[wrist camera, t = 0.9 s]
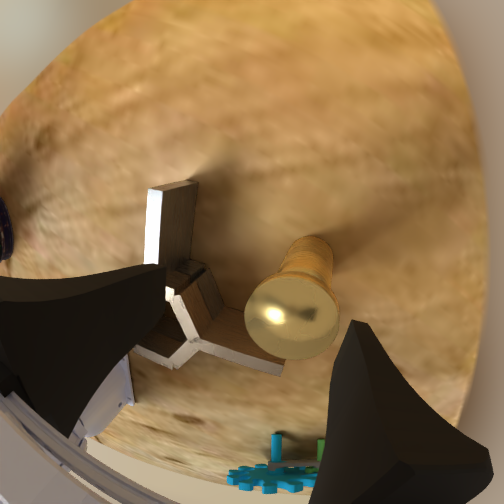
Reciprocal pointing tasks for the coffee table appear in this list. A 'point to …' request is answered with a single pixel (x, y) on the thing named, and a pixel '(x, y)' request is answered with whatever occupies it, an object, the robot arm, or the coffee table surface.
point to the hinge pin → (296, 304)
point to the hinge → (191, 292)
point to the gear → (278, 471)
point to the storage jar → (5, 233)
